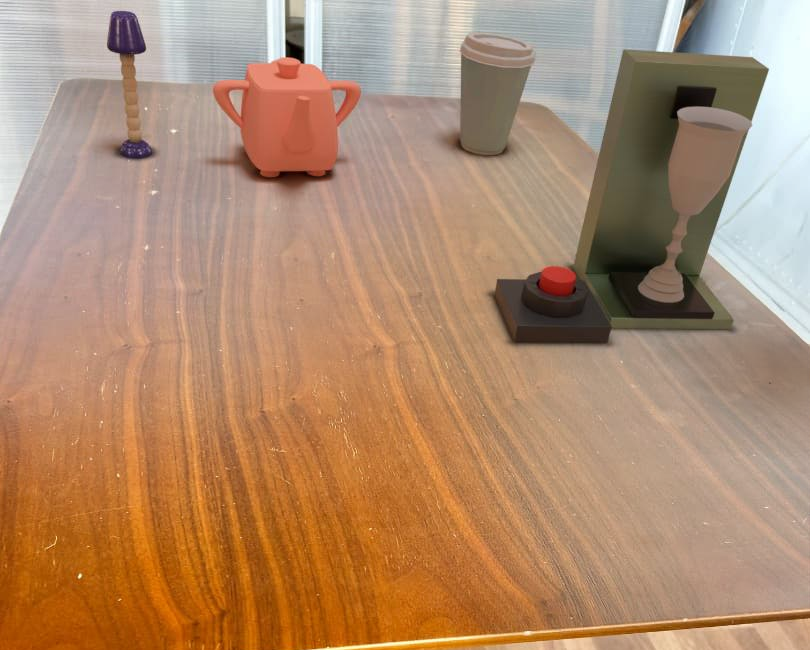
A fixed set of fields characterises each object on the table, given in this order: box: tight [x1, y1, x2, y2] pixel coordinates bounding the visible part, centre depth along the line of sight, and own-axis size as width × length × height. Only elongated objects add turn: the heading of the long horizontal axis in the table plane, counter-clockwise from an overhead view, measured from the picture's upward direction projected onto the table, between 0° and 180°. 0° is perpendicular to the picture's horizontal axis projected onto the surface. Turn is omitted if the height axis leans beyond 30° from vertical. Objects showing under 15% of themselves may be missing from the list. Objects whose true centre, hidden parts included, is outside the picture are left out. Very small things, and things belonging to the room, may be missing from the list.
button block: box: [494, 271, 613, 344], centre depth 93 cm, size 10×10×4 cm
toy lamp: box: [106, 10, 154, 160], centre depth 112 cm, size 5×5×17 cm
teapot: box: [212, 56, 362, 178], centre depth 115 cm, size 17×16×13 cm
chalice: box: [638, 107, 753, 303], centre depth 90 cm, size 7×7×18 cm
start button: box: [539, 265, 577, 296], centre depth 91 cm, size 4×4×2 cm
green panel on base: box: [572, 48, 770, 330], centre depth 92 cm, size 14×14×24 cm
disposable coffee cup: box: [458, 31, 536, 156], centre depth 125 cm, size 11×11×15 cm
